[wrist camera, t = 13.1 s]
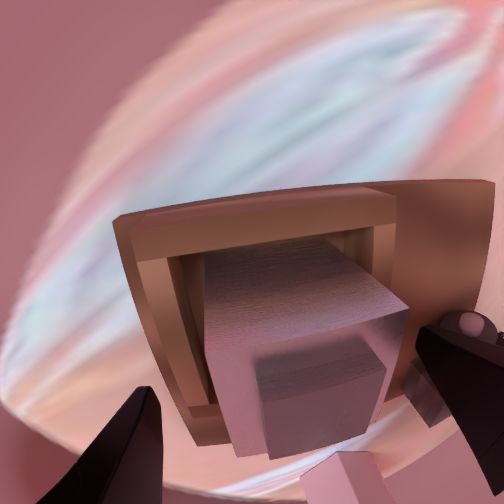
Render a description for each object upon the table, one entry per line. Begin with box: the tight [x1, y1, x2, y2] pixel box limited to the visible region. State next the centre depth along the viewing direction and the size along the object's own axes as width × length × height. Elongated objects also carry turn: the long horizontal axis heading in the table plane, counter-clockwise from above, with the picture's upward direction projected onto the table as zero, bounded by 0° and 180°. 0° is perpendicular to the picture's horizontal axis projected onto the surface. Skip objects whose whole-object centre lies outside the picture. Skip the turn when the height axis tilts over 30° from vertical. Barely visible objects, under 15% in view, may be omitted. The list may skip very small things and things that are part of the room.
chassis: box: [112, 179, 495, 446], centre depth 12 cm, size 16×22×6 cm
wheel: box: [439, 310, 498, 344], centre depth 13 cm, size 6×4×4 cm
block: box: [204, 238, 410, 460], centre depth 9 cm, size 5×5×7 cm
